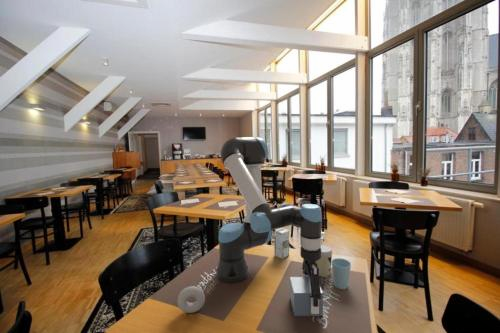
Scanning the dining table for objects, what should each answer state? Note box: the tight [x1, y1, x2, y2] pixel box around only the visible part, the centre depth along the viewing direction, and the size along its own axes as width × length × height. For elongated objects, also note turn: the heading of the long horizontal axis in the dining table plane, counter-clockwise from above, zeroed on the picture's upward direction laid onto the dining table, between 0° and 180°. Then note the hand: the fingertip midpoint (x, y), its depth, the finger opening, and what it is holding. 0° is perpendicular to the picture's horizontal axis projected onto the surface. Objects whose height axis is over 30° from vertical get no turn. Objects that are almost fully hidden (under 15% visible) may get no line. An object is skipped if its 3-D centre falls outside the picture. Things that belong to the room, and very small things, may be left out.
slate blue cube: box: [289, 276, 324, 317], centre depth 91 cm, size 10×10×9 cm
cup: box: [331, 257, 352, 290], centre depth 104 cm, size 8×8×10 cm
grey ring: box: [176, 285, 206, 314], centre depth 90 cm, size 10×4×10 cm, turn 100°
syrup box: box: [274, 227, 290, 260], centre depth 132 cm, size 6×6×14 cm
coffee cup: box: [316, 243, 333, 277], centre depth 115 cm, size 9×9×12 cm
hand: (310, 301), depth 92 cm, fingers open, 12 cm apart
